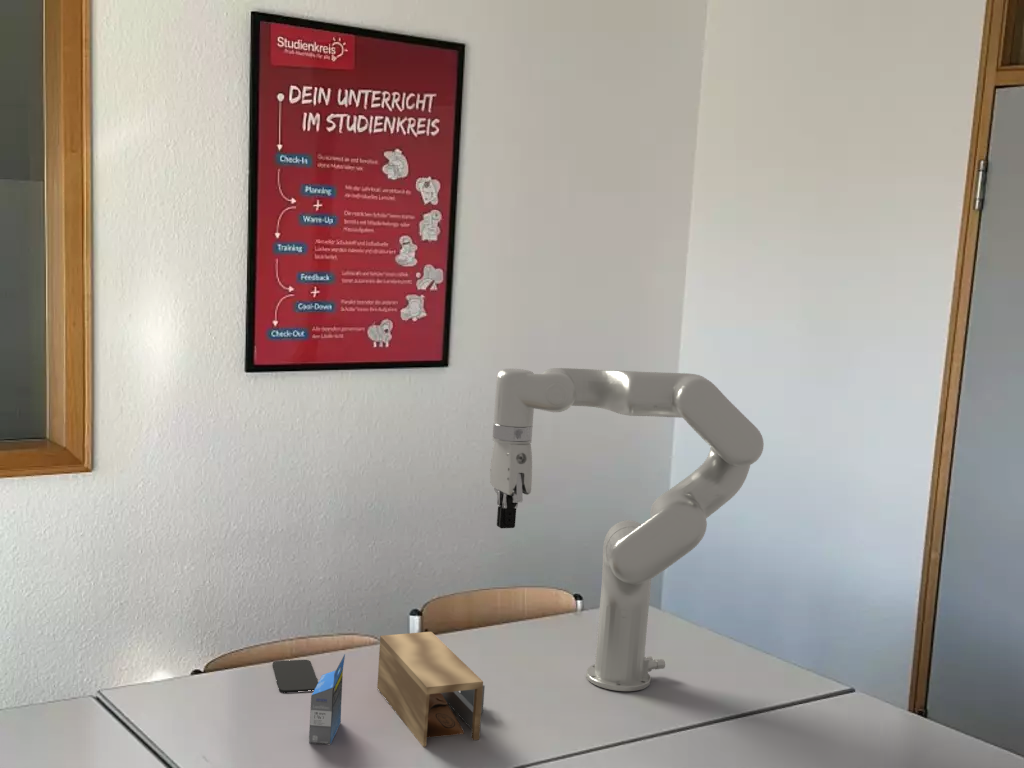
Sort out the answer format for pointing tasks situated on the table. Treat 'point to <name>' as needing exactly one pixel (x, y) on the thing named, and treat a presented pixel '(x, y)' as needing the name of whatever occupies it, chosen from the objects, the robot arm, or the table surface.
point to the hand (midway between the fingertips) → (505, 526)
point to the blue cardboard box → (326, 707)
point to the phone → (295, 675)
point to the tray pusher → (463, 703)
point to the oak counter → (423, 678)
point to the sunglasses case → (441, 718)
